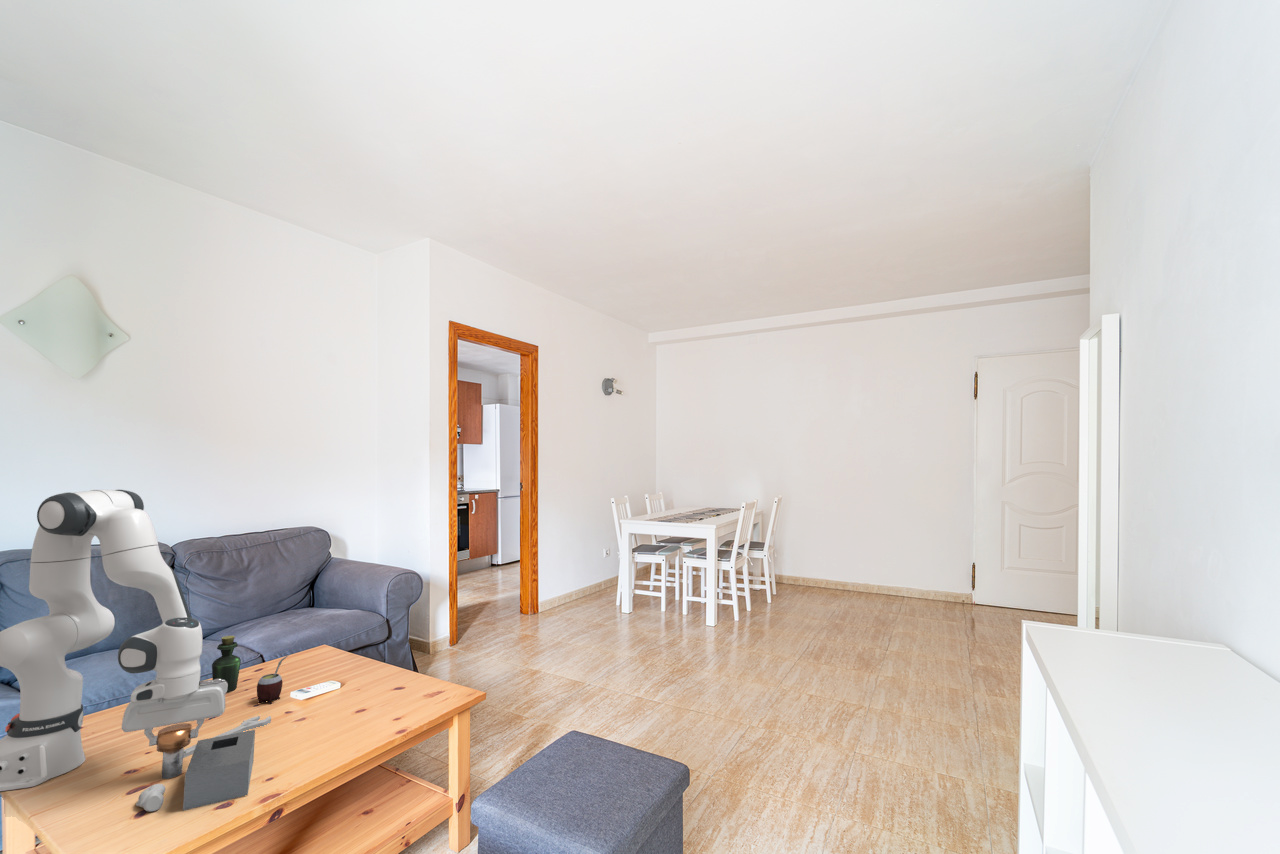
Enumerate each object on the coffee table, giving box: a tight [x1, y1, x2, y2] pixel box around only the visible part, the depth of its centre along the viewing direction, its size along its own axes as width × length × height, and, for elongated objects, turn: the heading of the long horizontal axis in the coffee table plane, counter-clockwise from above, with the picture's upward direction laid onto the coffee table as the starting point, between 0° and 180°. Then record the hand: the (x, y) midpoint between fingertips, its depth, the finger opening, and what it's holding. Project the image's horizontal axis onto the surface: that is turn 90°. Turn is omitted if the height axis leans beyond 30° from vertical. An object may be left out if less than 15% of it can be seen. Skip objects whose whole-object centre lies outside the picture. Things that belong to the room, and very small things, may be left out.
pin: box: [156, 722, 193, 780], centre depth 142 cm, size 7×7×11 cm
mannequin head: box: [135, 783, 166, 813], centre depth 129 cm, size 4×8×5 cm
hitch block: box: [182, 729, 256, 812], centre depth 138 cm, size 12×18×8 cm, turn 31°
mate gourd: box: [256, 654, 290, 705], centre depth 187 cm, size 8×8×15 cm
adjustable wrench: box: [183, 715, 272, 759], centre depth 161 cm, size 25×6×2 cm, turn 155°
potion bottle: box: [211, 635, 242, 694], centre depth 195 cm, size 8×8×18 cm
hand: (174, 740), depth 142 cm, fingers closed on pin, 7 cm apart
